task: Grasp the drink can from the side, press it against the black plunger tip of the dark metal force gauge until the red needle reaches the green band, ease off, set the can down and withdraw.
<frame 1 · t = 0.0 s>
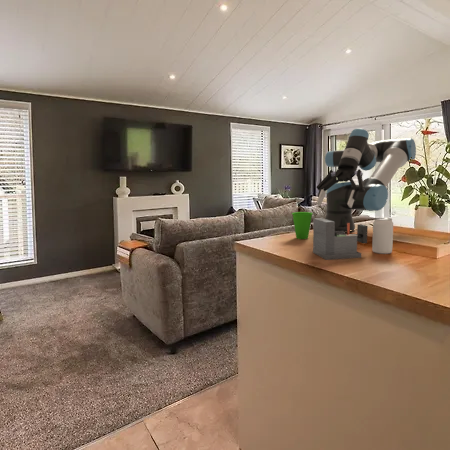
hand: (333, 205, 140), 15 cm above the countertop, fingers open, 13 cm apart
plunger: (352, 233, 121), point 7 cm above the countertop, slide at 0.0 cm
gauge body: (347, 254, 122), on the countertop
cup: (302, 238, 154), on the countertop
can: (382, 252, 124), on the countertop
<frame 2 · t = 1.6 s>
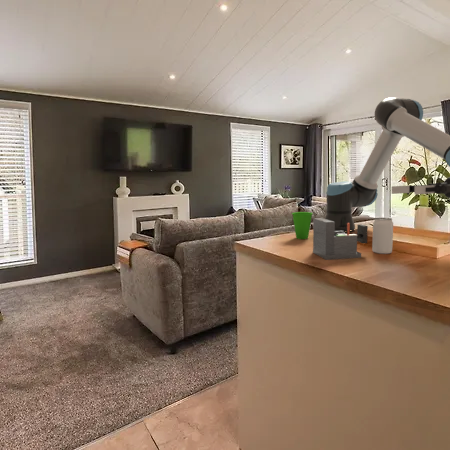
hand: (402, 190, 123), 22 cm above the countertop, fingers open, 13 cm apart
nothing on the countertop moved.
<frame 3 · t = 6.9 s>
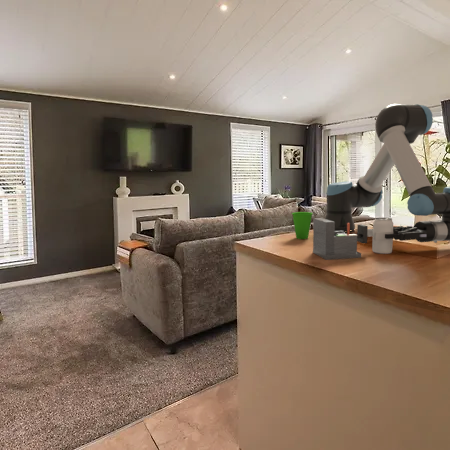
hand: (369, 234, 123), 7 cm above the countertop, fingers closed on can, 6 cm apart
can: (382, 252, 124), on the countertop, touching gripper
everything else where it was.
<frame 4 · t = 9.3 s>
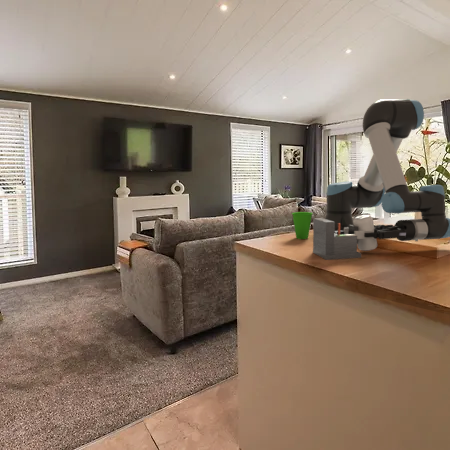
hand: (349, 233, 122), 7 cm above the countertop, fingers closed on can, 6 cm apart
plunger: (343, 234, 121), point 7 cm above the countertop, slide at 3.3 cm
can: (367, 248, 125), point 1 cm above the countertop, touching gripper
everything else where it was.
when the fingers open (7 cm above the countertop, at t = 10.9 s): can stays where it is, on the countertop.
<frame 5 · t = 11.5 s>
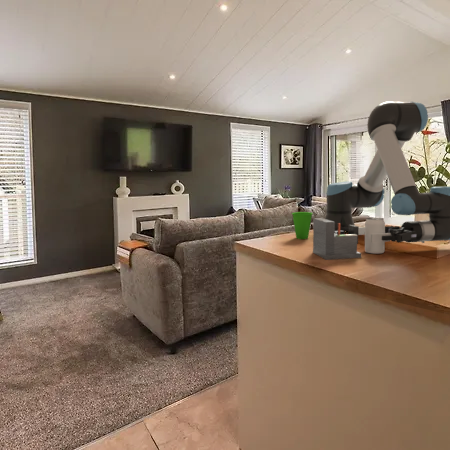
hand: (360, 234, 122), 7 cm above the countertop, fingers open, 13 cm apart
can: (374, 252, 124), on the countertop
everything else where it was.
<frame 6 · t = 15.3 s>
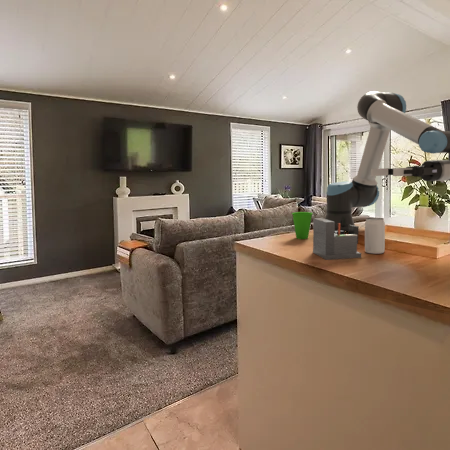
hand: (382, 172, 125), 28 cm above the countertop, fingers open, 13 cm apart
nothing on the countertop moved.
at the end: plunger slide at 3.3 cm; the gripper is holding nothing; can tilted 2° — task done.
